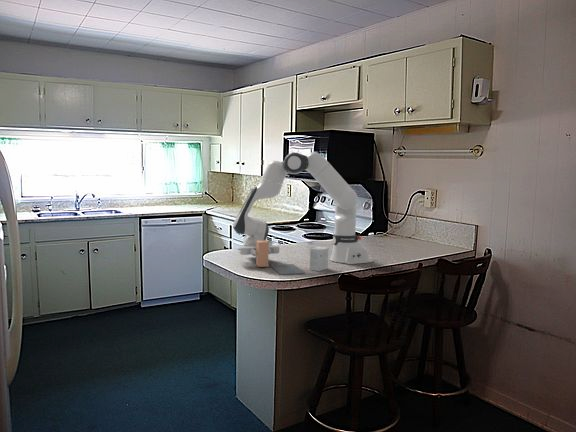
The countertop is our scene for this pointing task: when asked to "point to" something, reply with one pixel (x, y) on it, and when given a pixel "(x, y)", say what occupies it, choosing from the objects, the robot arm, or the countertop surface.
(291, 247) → the countertop surface
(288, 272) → the mat
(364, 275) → the countertop surface
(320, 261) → the small box
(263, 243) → the terracotta block
